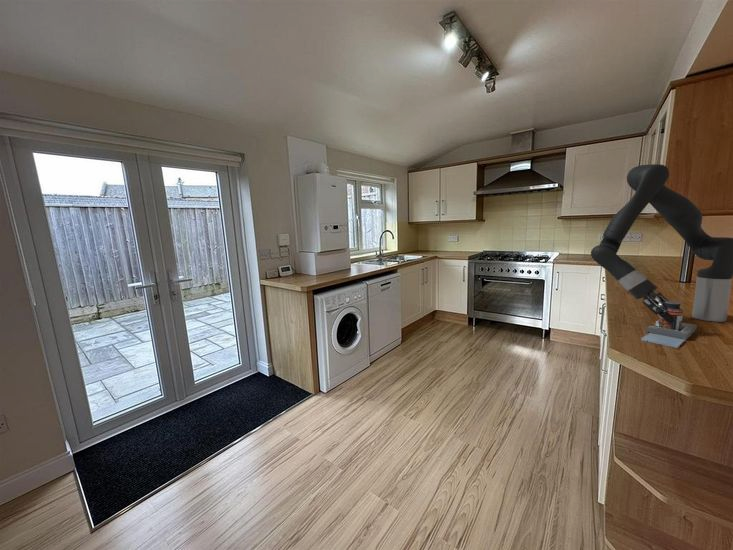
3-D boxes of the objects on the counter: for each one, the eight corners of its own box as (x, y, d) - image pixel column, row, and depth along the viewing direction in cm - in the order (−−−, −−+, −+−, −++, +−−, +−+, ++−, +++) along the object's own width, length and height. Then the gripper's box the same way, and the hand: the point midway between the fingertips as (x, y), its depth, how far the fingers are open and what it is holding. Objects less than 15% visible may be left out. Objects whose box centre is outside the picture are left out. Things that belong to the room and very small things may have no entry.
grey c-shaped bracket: (661, 322, 119) (662, 315, 119) (698, 328, 111) (699, 320, 110) (646, 332, 109) (647, 324, 109) (685, 340, 101) (686, 332, 100)
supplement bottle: (653, 331, 110) (657, 301, 109) (662, 328, 113) (665, 299, 111) (675, 336, 105) (679, 305, 103) (683, 333, 107) (687, 302, 105)
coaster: (649, 334, 107) (649, 332, 107) (684, 341, 100) (684, 339, 100) (640, 340, 103) (641, 338, 102) (677, 348, 95) (677, 346, 95)
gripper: (640, 280, 108) (682, 318, 100) (652, 276, 116) (692, 310, 108) (621, 292, 113) (659, 329, 105) (633, 287, 121) (670, 321, 113)
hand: (675, 319), depth 107 cm, fingers open, 7 cm apart
